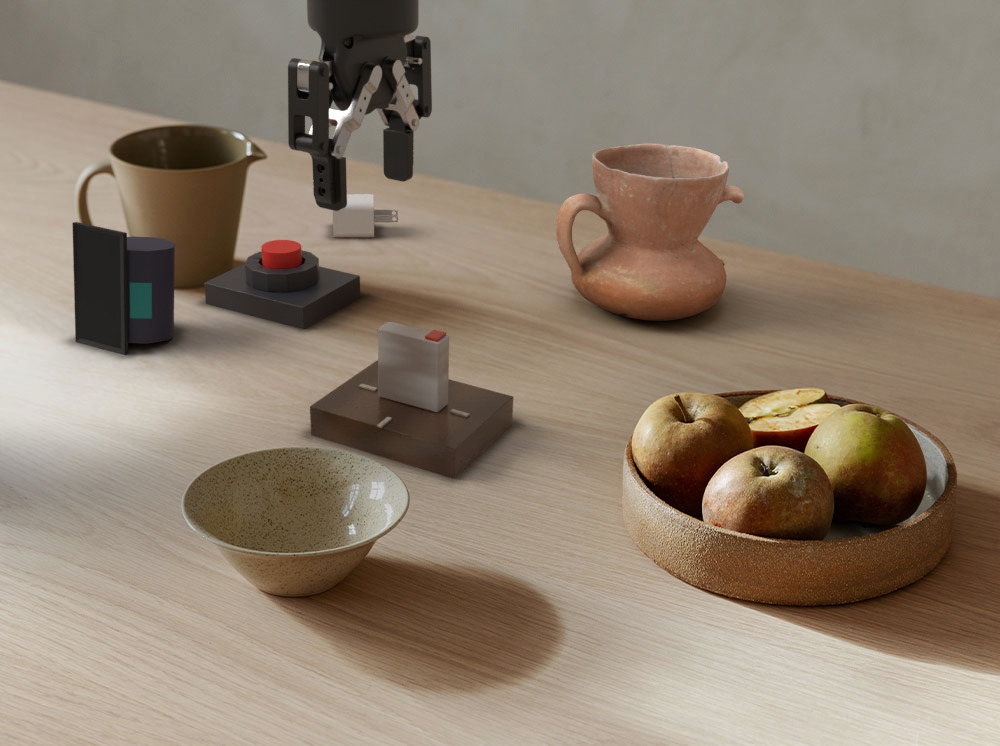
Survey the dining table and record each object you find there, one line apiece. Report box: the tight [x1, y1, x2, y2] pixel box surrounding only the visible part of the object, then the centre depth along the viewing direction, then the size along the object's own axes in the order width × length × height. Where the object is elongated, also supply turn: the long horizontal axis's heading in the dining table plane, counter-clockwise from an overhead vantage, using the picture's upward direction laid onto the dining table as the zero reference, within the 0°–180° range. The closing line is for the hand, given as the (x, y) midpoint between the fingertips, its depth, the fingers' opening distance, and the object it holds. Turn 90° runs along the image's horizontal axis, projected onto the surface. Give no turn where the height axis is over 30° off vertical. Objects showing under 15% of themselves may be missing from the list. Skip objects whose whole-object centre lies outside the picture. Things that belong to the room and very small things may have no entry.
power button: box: [260, 239, 303, 269], centre depth 101 cm, size 4×4×2 cm
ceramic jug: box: [555, 143, 745, 322], centre depth 102 cm, size 18×14×14 cm
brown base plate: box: [309, 359, 514, 480], centre depth 81 cm, size 12×9×3 cm
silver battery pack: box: [377, 321, 450, 412], centre depth 79 cm, size 5×2×6 cm, turn 64°
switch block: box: [203, 249, 361, 330], centre depth 102 cm, size 11×9×4 cm
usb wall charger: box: [332, 193, 399, 239], centre depth 120 cm, size 4×7×4 cm, turn 96°
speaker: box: [72, 221, 176, 356], centre depth 92 cm, size 8×6×10 cm
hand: (366, 193), depth 81 cm, fingers open, 8 cm apart
